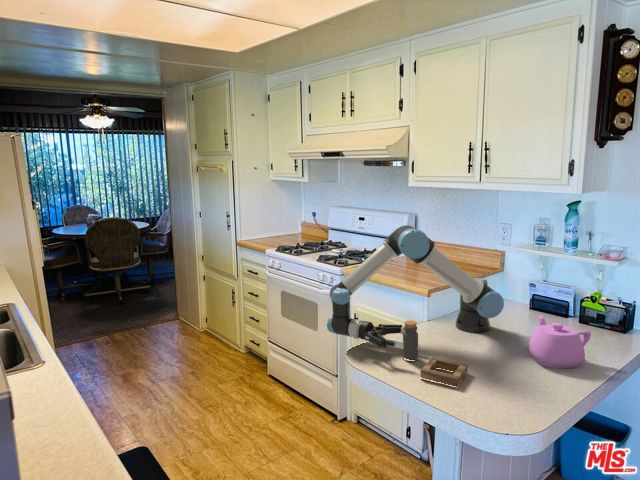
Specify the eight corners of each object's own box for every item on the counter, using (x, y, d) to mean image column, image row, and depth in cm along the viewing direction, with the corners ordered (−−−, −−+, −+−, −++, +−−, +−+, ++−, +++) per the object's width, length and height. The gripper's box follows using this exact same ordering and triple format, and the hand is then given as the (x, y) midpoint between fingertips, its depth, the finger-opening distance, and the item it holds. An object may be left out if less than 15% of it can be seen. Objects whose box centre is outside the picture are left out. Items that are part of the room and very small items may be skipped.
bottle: (403, 355, 178) (403, 319, 176) (418, 356, 176) (418, 320, 174) (401, 361, 173) (401, 324, 170) (417, 362, 171) (417, 325, 169)
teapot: (601, 370, 160) (604, 331, 158) (543, 372, 161) (545, 332, 158) (567, 345, 183) (569, 310, 180) (516, 347, 183) (517, 312, 181)
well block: (432, 365, 168) (432, 356, 168) (467, 373, 161) (467, 364, 161) (420, 379, 158) (420, 370, 157) (457, 388, 150) (457, 378, 150)
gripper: (375, 328, 195) (421, 337, 184) (347, 348, 175) (397, 360, 163) (374, 312, 194) (421, 320, 183) (346, 330, 174) (397, 340, 162)
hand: (410, 339), depth 173 cm, fingers open, 13 cm apart
